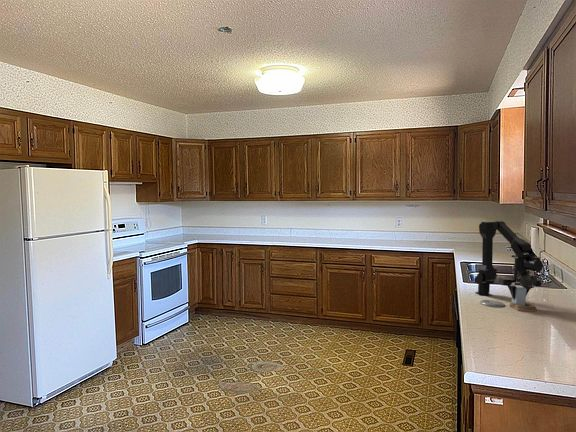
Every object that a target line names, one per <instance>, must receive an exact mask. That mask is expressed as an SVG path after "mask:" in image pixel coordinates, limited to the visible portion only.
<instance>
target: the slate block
mask: <svg viewBox="0 0 576 432" xmlns="http://www.w3.org/2000/svg"><path fill="white" fill-rule="evenodd" d="M515 286H516V289H515V299H513V298H512V297H511V302H514V303H515V304H517V305H519V306H525V303H526V302H527V299H526V298H527V295H526V288H524V287H522V285H515Z"/></svg>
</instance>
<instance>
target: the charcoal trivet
mask: <svg viewBox="0 0 576 432" xmlns="http://www.w3.org/2000/svg"><path fill="white" fill-rule="evenodd" d="M479 303H480V304H481V305H483V306H485V307H491V308H504V307H505V303H504V302H502V301H498V300H493V299H492V300H491V299H483V300H480V302H479Z"/></svg>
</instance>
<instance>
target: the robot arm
mask: <svg viewBox="0 0 576 432" xmlns="http://www.w3.org/2000/svg"><path fill="white" fill-rule="evenodd" d="M478 230H479V232H478V233H479V234H480V236H481V238H482V248H481V249H482V256H481V257H482V259H481V261H482V263H481V266H480V267H479V269H478V275H476V277H474V279H473V280H474V283H475V284H477V286H478V288H477V291H475V292H474V293H475V294H477V295H478V296H480V297H481V296H483V297H487V296H488V297H492V296H493V295H492V294H491V293H490V285H491V284H494V283H495V282H496V281H495V280H496V278H497V277H498V273H497V271H498V270H497V268H495V267H494V265H493V254H494V253H493V249H494V248H493V246H494V245H493V243H494V242H493V241H494V237H495V235H496V233H497V231H498V232H499V233H500V235H501V236H502V237H503V238H504V239H506V241H507V242H508V243H509V245H510V248H511V250H512V251H513V254H512V255H511V256H510V257H512V258H513V259H514V263H513V264H514V265H513V266H514V268H512V271H513V276H511V277H512V278H511V279H510V278H508V277H499V278H498V279H497V283H498V284H499V285H502V286H506V287H508V290H509V292H510V295H511V299H512V298H513V299H515V289H516V286H517V285H518V284H520V285H521V286H522V287H524V288H526V296H528V293H529V291H530V290H532V289H534V288H535V287H542V286H543V285H542V284H543V283H542V280H540V279H538V276H537V275H530V271H531V272H535V273H540V272H541V271H542V270H543V268H544V263H543V261H542V260H541V257H540V256H539V257H538V256H537V257H536V253H535V251H534V250H533V247H532V244H531V243H530V242H528V241H527V240H526V239H524V238H520V237H519V235H517V234H516V233H515V232H514V231H513V230H512V229H511V228H510V227H509V225H507V223H506V222H505V221H502V220H501V221H500V220H496V221H481V222H480V223H479V225H478ZM516 284H517V285H516Z"/></svg>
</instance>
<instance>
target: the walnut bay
mask: <svg viewBox="0 0 576 432" xmlns="http://www.w3.org/2000/svg"><path fill="white" fill-rule="evenodd" d="M509 307H510V308H512V309H514V310H516V311H518V312H537V307H536V306H535V305H534V304H531V303H530V302H527V301H526V303H525V306H519V305H517V304H515V303H514V302H512V301H510V302H509Z"/></svg>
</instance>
